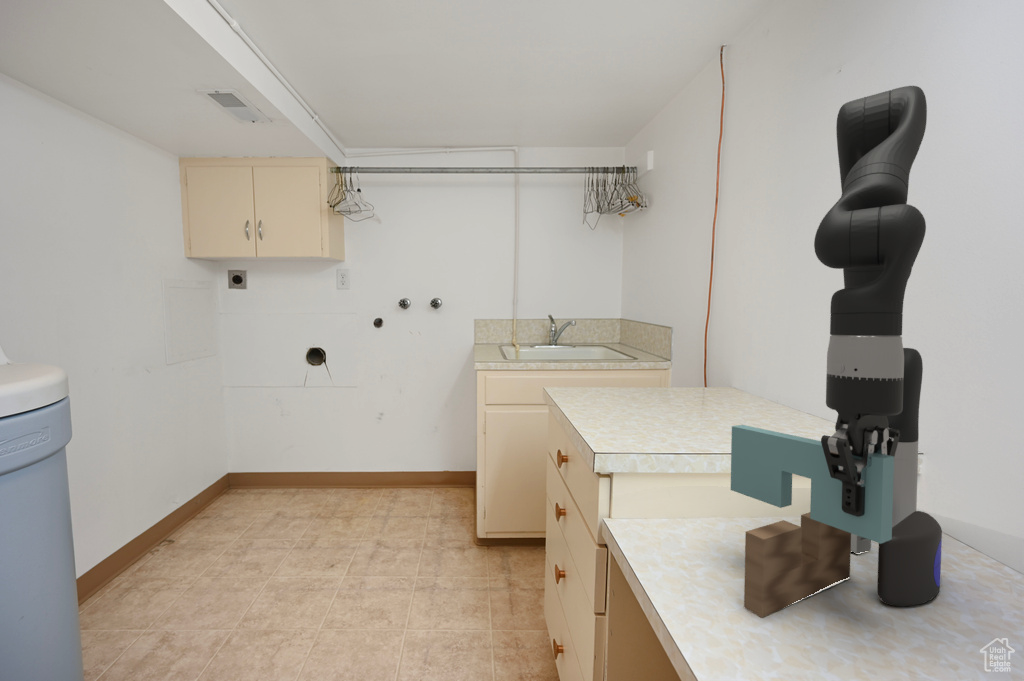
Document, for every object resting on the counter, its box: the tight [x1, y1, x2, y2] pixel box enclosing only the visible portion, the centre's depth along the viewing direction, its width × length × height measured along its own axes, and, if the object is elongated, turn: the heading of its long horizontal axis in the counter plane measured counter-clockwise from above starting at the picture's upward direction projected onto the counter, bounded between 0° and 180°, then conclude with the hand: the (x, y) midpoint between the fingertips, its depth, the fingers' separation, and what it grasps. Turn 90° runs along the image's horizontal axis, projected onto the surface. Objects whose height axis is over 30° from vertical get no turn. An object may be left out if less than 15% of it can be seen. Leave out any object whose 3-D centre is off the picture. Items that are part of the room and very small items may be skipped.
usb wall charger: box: [851, 533, 872, 553], centre depth 78 cm, size 4×7×4 cm, turn 24°
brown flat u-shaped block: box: [743, 511, 852, 619], centre depth 63 cm, size 20×2×10 cm, turn 117°
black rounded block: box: [876, 510, 943, 607], centre depth 64 cm, size 16×5×9 cm, turn 125°
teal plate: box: [730, 424, 894, 544], centre depth 63 cm, size 2×20×10 cm, turn 27°
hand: (859, 511), depth 57 cm, fingers closed on teal plate, 2 cm apart
